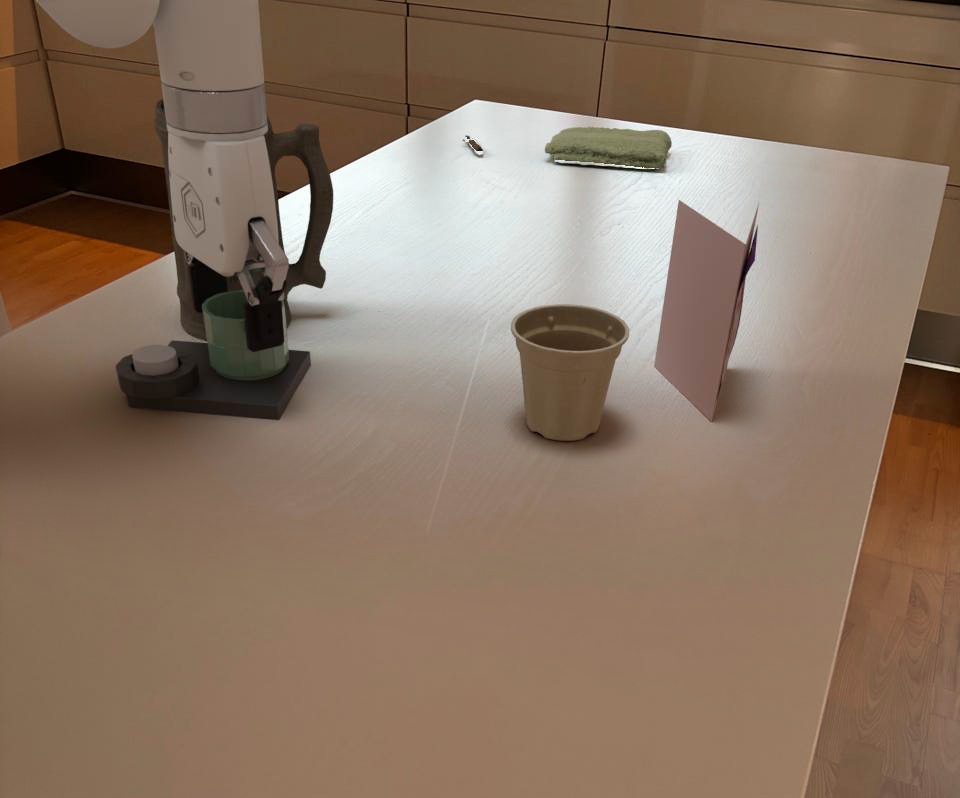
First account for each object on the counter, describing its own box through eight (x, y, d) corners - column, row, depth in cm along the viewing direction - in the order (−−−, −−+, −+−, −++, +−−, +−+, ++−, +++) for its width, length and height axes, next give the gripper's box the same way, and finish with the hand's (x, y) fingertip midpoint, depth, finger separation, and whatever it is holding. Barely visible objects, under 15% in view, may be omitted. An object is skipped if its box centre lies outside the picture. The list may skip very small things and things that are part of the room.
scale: (111, 411, 86) (103, 377, 84) (161, 353, 95) (155, 322, 93) (276, 425, 85) (272, 391, 83) (311, 365, 94) (308, 334, 92)
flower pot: (536, 461, 82) (544, 359, 76) (487, 409, 88) (491, 312, 83) (637, 440, 85) (652, 341, 80) (583, 392, 92) (593, 297, 86)
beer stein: (182, 350, 96) (161, 115, 83) (165, 307, 103) (144, 86, 91) (342, 341, 101) (345, 119, 89) (315, 301, 108) (314, 91, 96)
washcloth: (556, 141, 158) (558, 119, 156) (671, 152, 156) (674, 129, 153) (542, 164, 148) (543, 140, 146) (664, 175, 146) (667, 151, 144)
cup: (200, 378, 88) (190, 316, 85) (224, 346, 93) (216, 287, 90) (277, 385, 88) (271, 323, 84) (297, 352, 93) (292, 292, 89)
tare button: (128, 375, 86) (125, 360, 85) (144, 357, 88) (141, 342, 87) (170, 379, 85) (167, 364, 84) (184, 361, 88) (182, 346, 87)
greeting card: (721, 423, 88) (757, 246, 78) (636, 409, 89) (660, 233, 80) (736, 369, 96) (769, 203, 87) (657, 357, 98) (682, 192, 88)
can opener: (483, 156, 150) (483, 147, 149) (467, 156, 150) (468, 147, 149) (475, 140, 157) (475, 132, 156) (460, 140, 157) (460, 132, 156)
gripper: (121, 89, 81) (153, 303, 91) (224, 140, 70) (247, 374, 81) (208, 82, 84) (230, 288, 95) (318, 129, 74) (328, 353, 85)
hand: (238, 327), depth 88 cm, fingers open, 9 cm apart
